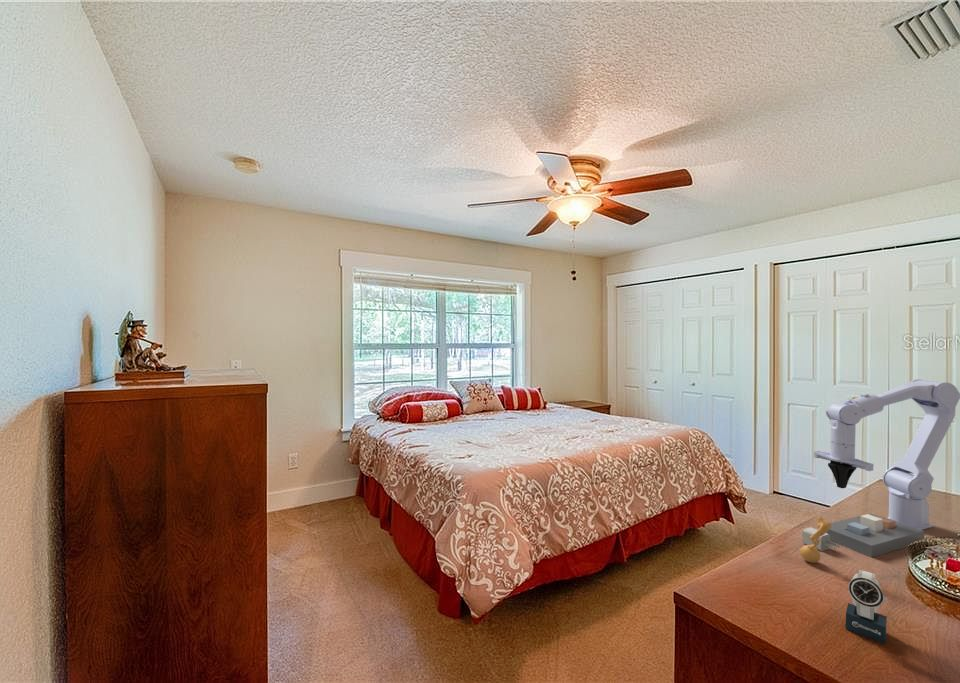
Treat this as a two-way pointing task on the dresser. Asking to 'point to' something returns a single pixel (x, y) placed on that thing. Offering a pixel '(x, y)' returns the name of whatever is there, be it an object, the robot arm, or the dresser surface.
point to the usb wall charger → (823, 540)
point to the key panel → (874, 537)
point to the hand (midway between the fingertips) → (841, 487)
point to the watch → (866, 607)
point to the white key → (872, 522)
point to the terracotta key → (887, 522)
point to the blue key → (858, 529)
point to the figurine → (815, 542)
